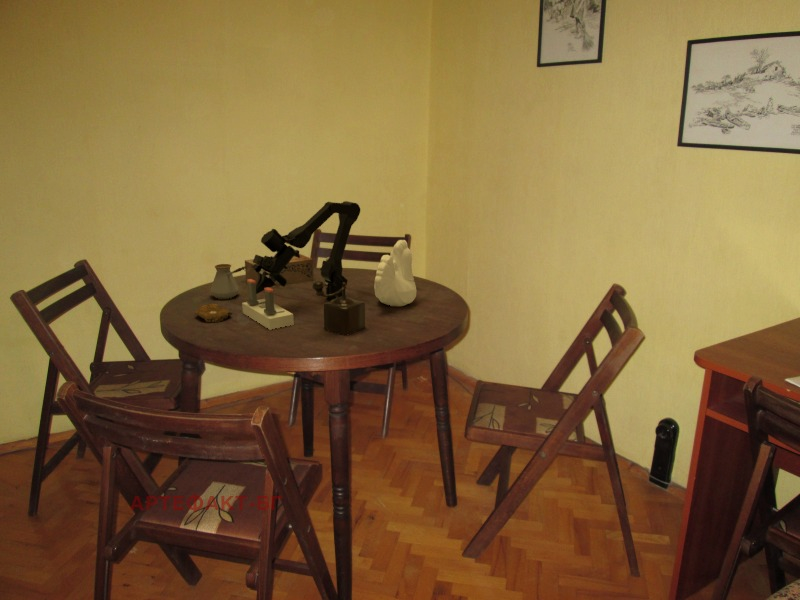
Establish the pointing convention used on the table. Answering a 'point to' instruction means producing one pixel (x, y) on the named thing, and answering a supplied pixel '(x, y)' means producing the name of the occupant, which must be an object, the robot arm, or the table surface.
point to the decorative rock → (213, 313)
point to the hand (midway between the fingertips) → (254, 293)
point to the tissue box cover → (288, 270)
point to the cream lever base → (268, 321)
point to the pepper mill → (341, 311)
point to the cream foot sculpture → (396, 277)
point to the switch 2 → (269, 301)
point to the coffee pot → (225, 282)
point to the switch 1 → (252, 292)
